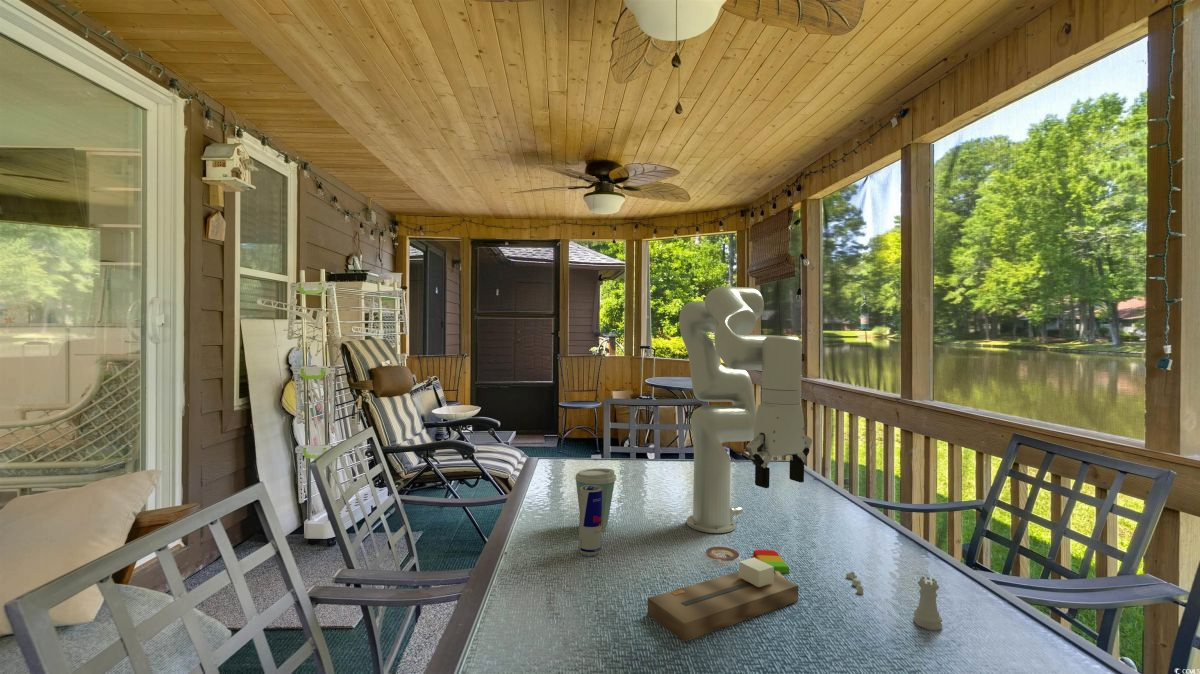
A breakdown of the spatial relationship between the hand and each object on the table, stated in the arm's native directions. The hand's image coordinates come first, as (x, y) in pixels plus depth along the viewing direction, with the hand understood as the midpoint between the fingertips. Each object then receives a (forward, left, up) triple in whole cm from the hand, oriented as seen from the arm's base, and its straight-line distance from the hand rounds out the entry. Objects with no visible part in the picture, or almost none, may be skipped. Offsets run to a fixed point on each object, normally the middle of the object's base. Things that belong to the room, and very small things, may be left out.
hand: (779, 483), depth 109 cm
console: (+15, +1, -21) cm, 26 cm away
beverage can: (+24, -33, -21) cm, 46 cm away
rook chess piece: (-12, +23, -21) cm, 33 cm away
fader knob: (+7, +1, -17) cm, 19 cm away
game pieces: (-15, +7, -21) cm, 27 cm away
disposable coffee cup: (+15, -46, -21) cm, 53 cm away
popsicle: (-6, -6, -22) cm, 23 cm away
